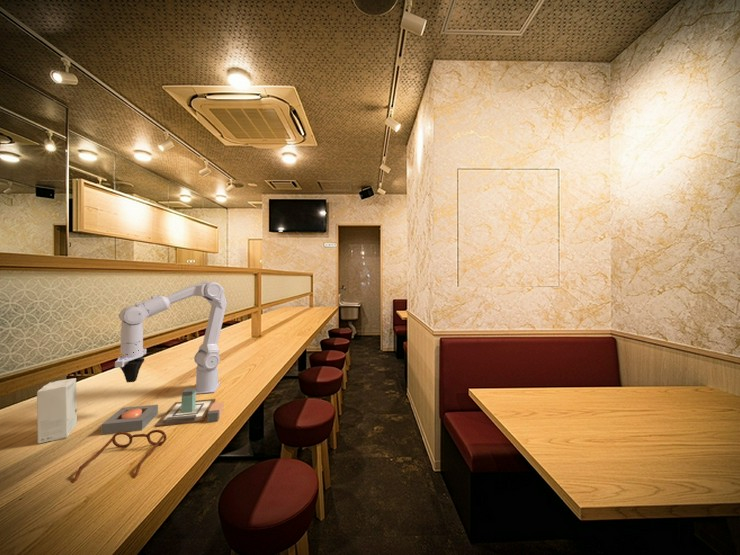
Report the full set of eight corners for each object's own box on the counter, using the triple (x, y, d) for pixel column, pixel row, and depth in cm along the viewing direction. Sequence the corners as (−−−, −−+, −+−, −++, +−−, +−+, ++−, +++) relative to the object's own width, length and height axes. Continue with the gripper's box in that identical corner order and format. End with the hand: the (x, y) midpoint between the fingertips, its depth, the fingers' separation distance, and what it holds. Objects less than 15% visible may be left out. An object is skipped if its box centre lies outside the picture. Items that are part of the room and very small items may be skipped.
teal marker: (185, 408, 95) (185, 388, 94) (195, 407, 95) (195, 387, 95) (181, 412, 91) (181, 392, 91) (192, 411, 92) (192, 391, 92)
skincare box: (67, 438, 77) (67, 386, 77) (35, 445, 74) (35, 391, 74) (77, 424, 84) (78, 376, 84) (48, 429, 81) (49, 380, 81)
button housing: (122, 416, 89) (122, 407, 89) (157, 413, 92) (158, 404, 92) (101, 434, 80) (101, 424, 80) (142, 430, 82) (142, 420, 82)
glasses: (167, 444, 77) (167, 427, 76) (135, 479, 64) (135, 458, 64) (114, 448, 74) (114, 430, 74) (69, 485, 62) (70, 463, 62)
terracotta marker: (213, 412, 94) (213, 403, 94) (223, 411, 95) (223, 402, 95) (206, 423, 87) (207, 413, 87) (218, 421, 88) (218, 412, 88)
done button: (127, 418, 88) (127, 409, 87) (144, 416, 89) (144, 407, 89) (117, 426, 83) (117, 417, 83) (136, 424, 84) (136, 415, 84)
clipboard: (175, 404, 99) (175, 399, 99) (215, 400, 102) (215, 396, 102) (155, 426, 84) (155, 421, 84) (202, 421, 88) (202, 416, 88)
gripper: (130, 337, 98) (129, 374, 98) (103, 348, 84) (102, 391, 84) (153, 336, 100) (152, 373, 100) (130, 347, 86) (129, 389, 86)
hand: (131, 381), depth 92 cm, fingers closed
